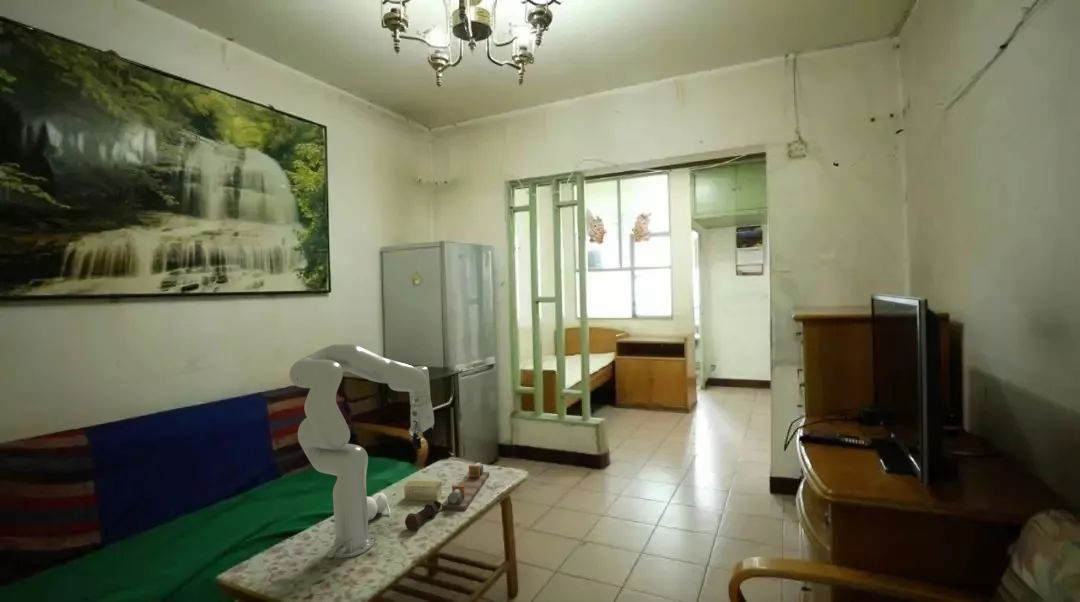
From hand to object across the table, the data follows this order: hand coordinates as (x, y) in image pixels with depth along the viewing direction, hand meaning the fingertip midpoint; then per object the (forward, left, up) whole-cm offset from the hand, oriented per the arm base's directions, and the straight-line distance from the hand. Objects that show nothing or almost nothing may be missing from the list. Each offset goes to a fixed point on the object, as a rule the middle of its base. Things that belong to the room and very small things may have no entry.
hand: (423, 443), depth 171 cm
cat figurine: (-16, +13, -21) cm, 29 cm away
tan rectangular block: (0, +1, -21) cm, 21 cm away
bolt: (-16, -7, -21) cm, 27 cm away
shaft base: (+6, -14, -21) cm, 26 cm away
